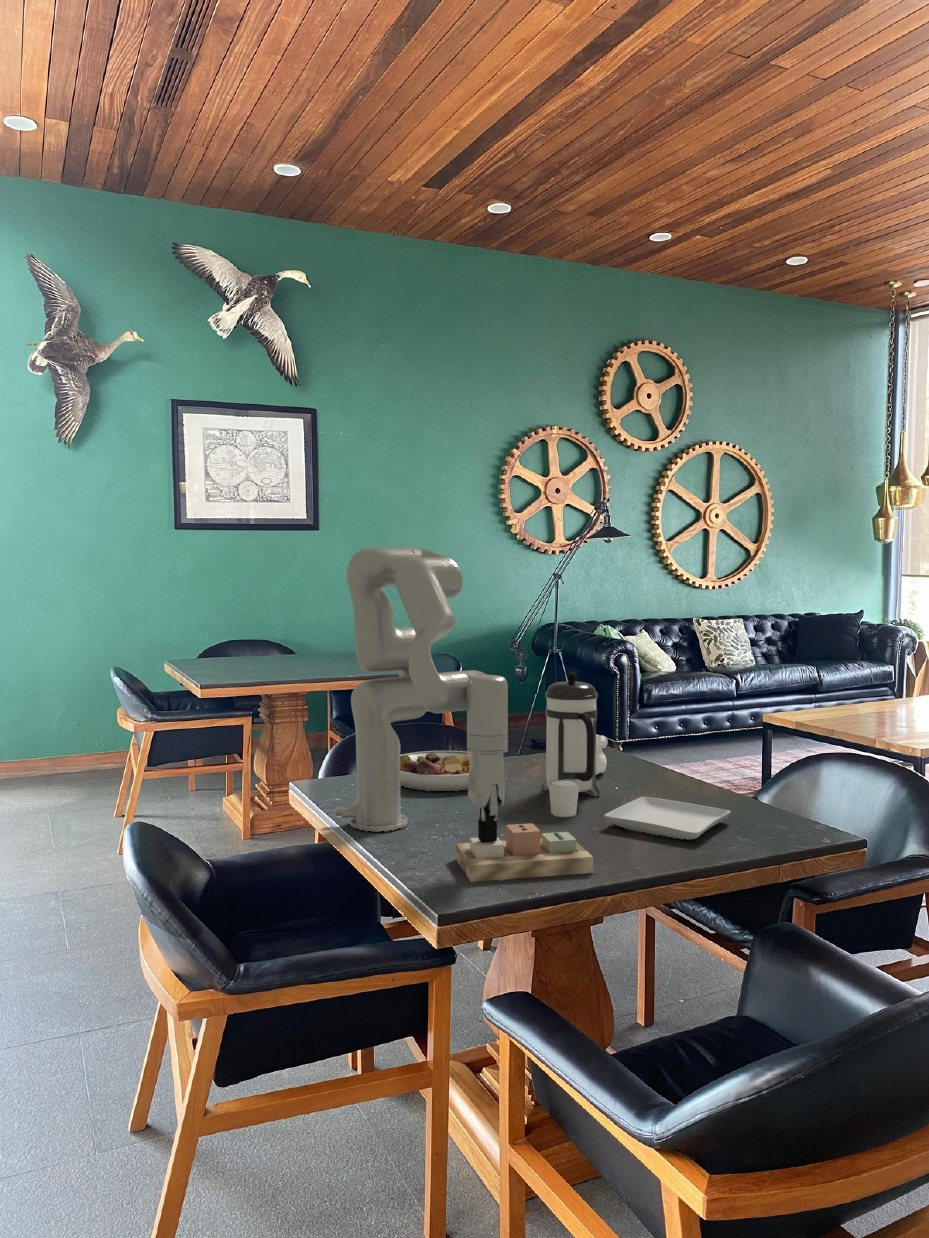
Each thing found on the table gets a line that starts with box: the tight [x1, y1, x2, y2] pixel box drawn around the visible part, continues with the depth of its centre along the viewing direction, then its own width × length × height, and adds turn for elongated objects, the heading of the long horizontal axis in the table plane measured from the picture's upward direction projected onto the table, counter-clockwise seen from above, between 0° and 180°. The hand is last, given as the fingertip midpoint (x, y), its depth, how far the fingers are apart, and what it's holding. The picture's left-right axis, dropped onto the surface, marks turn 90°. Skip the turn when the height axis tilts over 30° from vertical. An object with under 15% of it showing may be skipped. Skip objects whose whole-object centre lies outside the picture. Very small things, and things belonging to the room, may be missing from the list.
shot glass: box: [548, 780, 579, 818], centre depth 211 cm, size 7×7×7 cm
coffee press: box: [541, 671, 601, 798], centre depth 227 cm, size 17×16×30 cm
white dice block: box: [469, 836, 504, 859], centre depth 173 cm, size 5×5×5 cm
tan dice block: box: [505, 823, 542, 856], centre depth 175 cm, size 5×5×5 cm
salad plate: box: [603, 796, 731, 841], centre depth 201 cm, size 21×21×3 cm
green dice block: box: [541, 831, 577, 854], centre depth 176 cm, size 5×5×5 cm
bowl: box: [400, 750, 470, 792], centre depth 243 cm, size 30×30×8 cm
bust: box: [595, 734, 609, 776], centre depth 252 cm, size 12×8×11 cm
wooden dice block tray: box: [455, 839, 594, 883], centre depth 175 cm, size 23×13×3 cm, turn 102°
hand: (487, 840), depth 173 cm, fingers closed
